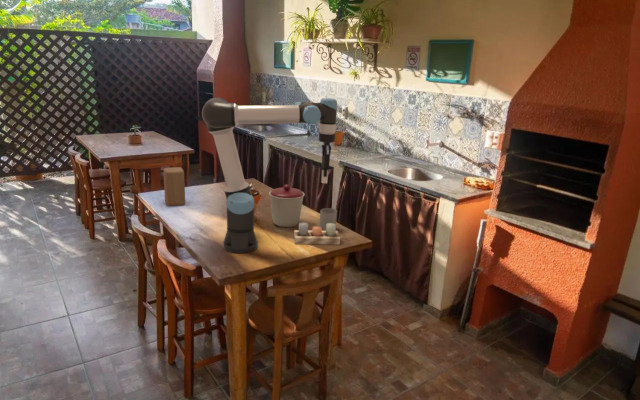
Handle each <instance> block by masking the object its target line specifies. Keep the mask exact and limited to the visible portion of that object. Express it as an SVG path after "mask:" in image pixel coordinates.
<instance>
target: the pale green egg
mask: <svg viewBox="0 0 640 400" xmlns="http://www.w3.org/2000/svg"><path fill="white" fill-rule="evenodd" d="M335 229H337V223H336V224H334V223H327V224H326V235H327V236H335Z"/></svg>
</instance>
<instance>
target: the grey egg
mask: <svg viewBox="0 0 640 400" xmlns="http://www.w3.org/2000/svg"><path fill="white" fill-rule="evenodd" d="M298 230H299V235H301V236H306V235H308V230H309V223H308V222H298Z"/></svg>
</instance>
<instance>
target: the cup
mask: <svg viewBox="0 0 640 400" xmlns="http://www.w3.org/2000/svg"><path fill="white" fill-rule="evenodd" d="M319 214H320V215H319V227H322V231H326V224H327V223H334V224H336V225H337V217H338V210H337V209H335V208H330V207H329V208H328V207H325V208H321V209H320V211H319ZM336 229H337V228H336ZM336 229H335V230H336ZM336 231H337V230H336Z"/></svg>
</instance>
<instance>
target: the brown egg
mask: <svg viewBox="0 0 640 400" xmlns="http://www.w3.org/2000/svg"><path fill="white" fill-rule="evenodd" d="M311 230H312V236H321V235H322V227H320V225H318V226H312V229H311Z"/></svg>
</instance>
